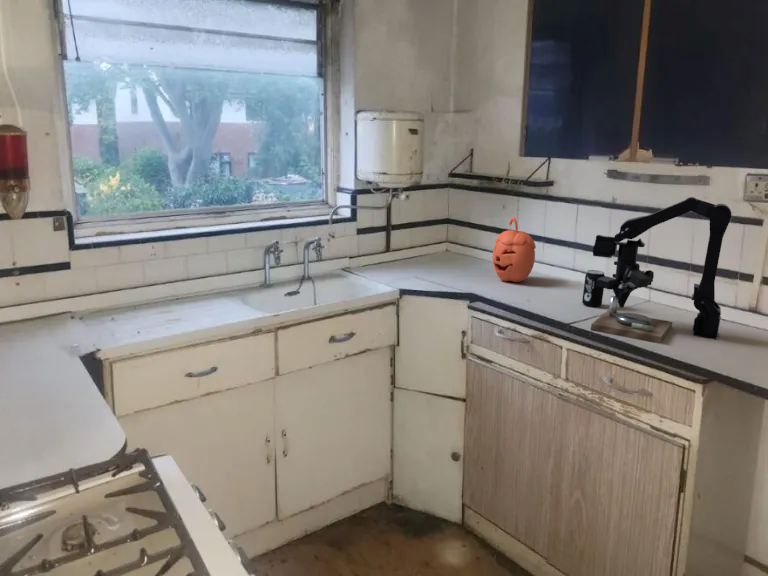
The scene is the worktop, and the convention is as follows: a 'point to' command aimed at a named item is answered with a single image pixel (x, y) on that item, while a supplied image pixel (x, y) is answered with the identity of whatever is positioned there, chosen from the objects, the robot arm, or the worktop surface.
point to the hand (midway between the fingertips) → (621, 307)
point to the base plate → (633, 328)
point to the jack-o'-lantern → (513, 254)
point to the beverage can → (592, 289)
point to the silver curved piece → (626, 314)
